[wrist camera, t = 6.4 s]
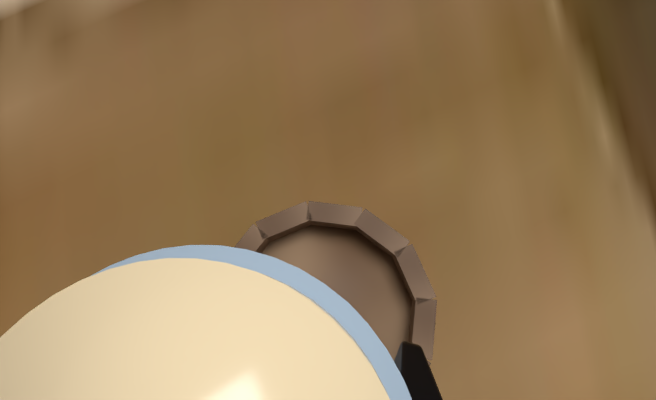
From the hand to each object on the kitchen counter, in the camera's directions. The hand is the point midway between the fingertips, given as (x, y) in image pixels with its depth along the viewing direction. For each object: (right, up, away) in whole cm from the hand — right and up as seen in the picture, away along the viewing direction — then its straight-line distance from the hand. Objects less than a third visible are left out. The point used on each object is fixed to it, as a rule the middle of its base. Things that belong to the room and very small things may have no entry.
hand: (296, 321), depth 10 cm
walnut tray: (0, -3, +11) cm, 12 cm away
